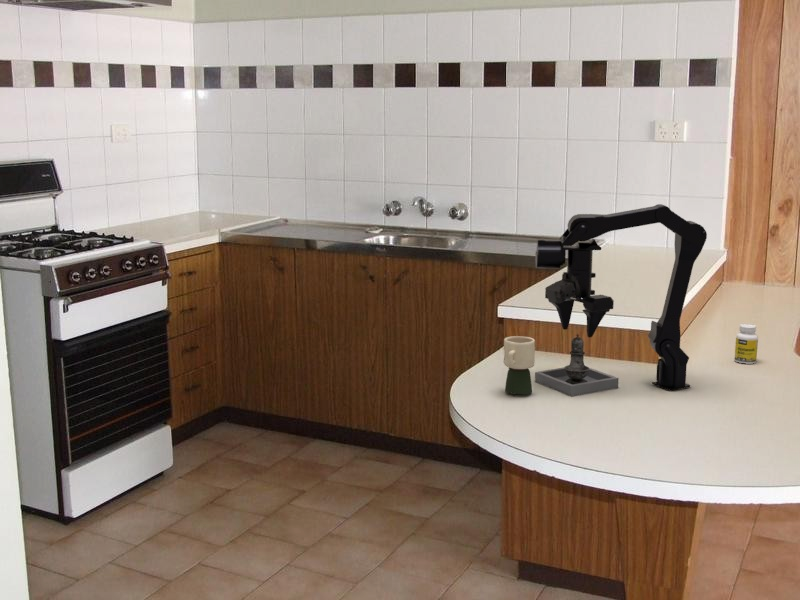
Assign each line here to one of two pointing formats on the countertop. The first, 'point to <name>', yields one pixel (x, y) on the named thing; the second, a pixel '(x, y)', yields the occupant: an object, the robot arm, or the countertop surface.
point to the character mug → (519, 363)
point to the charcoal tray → (594, 384)
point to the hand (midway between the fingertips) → (577, 333)
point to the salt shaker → (576, 363)
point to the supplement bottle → (746, 344)
